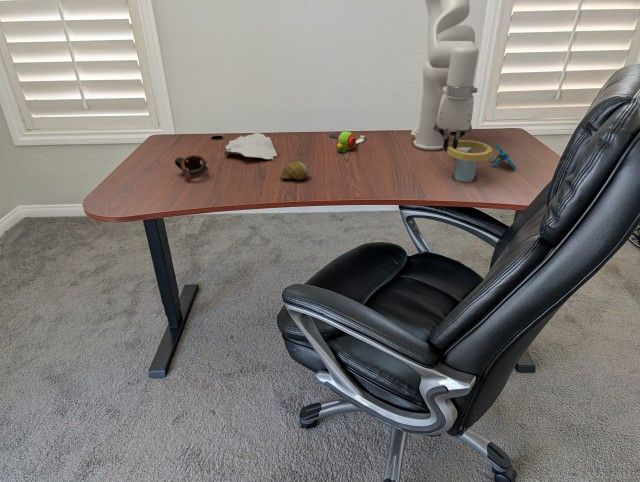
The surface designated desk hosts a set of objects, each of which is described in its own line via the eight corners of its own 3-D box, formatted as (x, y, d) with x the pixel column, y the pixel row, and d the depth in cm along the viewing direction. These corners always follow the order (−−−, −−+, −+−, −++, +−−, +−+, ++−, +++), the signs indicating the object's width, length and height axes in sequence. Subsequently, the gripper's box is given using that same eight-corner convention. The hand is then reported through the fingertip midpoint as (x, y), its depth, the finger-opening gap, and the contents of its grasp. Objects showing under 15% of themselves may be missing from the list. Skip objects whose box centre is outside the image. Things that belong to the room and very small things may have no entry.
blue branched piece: (520, 169, 141) (501, 146, 139) (504, 180, 143) (485, 158, 142) (513, 161, 151) (495, 139, 149) (498, 171, 153) (481, 151, 151)
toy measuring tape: (330, 152, 161) (330, 135, 158) (357, 137, 175) (357, 121, 171) (345, 155, 158) (345, 138, 155) (370, 140, 171) (371, 124, 168)
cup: (450, 178, 140) (454, 156, 136) (460, 172, 143) (464, 151, 139) (467, 183, 136) (471, 161, 132) (477, 178, 139) (481, 156, 135)
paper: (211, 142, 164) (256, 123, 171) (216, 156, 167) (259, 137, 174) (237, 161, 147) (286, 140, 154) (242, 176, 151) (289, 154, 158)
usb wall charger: (465, 161, 152) (467, 150, 150) (447, 156, 156) (449, 146, 154) (470, 158, 154) (472, 147, 152) (453, 153, 158) (454, 143, 156)
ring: (445, 158, 131) (446, 152, 130) (447, 144, 142) (448, 138, 141) (491, 162, 128) (492, 156, 127) (489, 147, 139) (490, 142, 138)
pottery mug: (214, 171, 148) (211, 156, 141) (203, 192, 144) (199, 178, 136) (182, 160, 149) (177, 145, 141) (169, 181, 144) (164, 166, 137)
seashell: (284, 191, 142) (283, 181, 135) (277, 173, 144) (276, 162, 136) (311, 182, 144) (312, 171, 136) (304, 164, 146) (304, 153, 138)
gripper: (486, 89, 127) (474, 148, 137) (432, 86, 131) (425, 144, 141) (486, 95, 121) (475, 156, 131) (430, 92, 125) (423, 152, 135)
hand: (449, 149), depth 136 cm, fingers closed on ring, 1 cm apart
